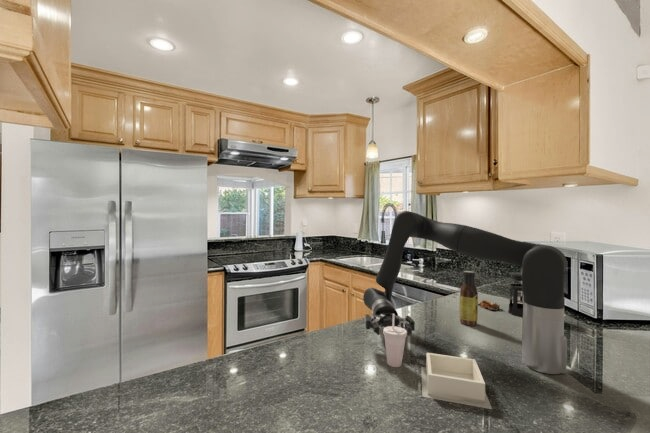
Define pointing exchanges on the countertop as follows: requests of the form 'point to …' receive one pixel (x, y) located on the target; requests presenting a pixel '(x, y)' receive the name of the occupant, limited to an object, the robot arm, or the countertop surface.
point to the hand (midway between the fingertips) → (393, 331)
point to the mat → (425, 394)
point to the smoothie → (394, 343)
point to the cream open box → (454, 378)
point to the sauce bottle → (468, 300)
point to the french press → (516, 296)
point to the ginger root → (489, 305)
